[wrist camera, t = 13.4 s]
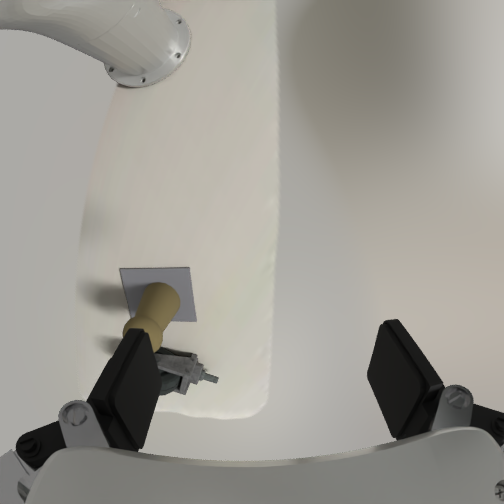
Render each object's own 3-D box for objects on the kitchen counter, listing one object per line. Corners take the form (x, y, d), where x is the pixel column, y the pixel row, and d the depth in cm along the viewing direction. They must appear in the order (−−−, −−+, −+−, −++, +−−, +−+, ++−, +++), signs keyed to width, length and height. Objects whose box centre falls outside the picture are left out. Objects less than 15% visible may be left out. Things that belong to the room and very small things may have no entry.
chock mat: (120, 268, 40) (119, 269, 40) (189, 267, 40) (189, 268, 40) (132, 318, 43) (131, 319, 43) (196, 320, 43) (196, 321, 43)
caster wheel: (139, 352, 47) (216, 382, 47) (116, 386, 38) (205, 421, 38) (141, 330, 45) (224, 361, 45) (117, 364, 36) (213, 402, 36)
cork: (153, 320, 43) (130, 365, 32) (136, 287, 41) (107, 327, 30) (186, 312, 42) (170, 359, 32) (170, 277, 40) (147, 319, 30)
